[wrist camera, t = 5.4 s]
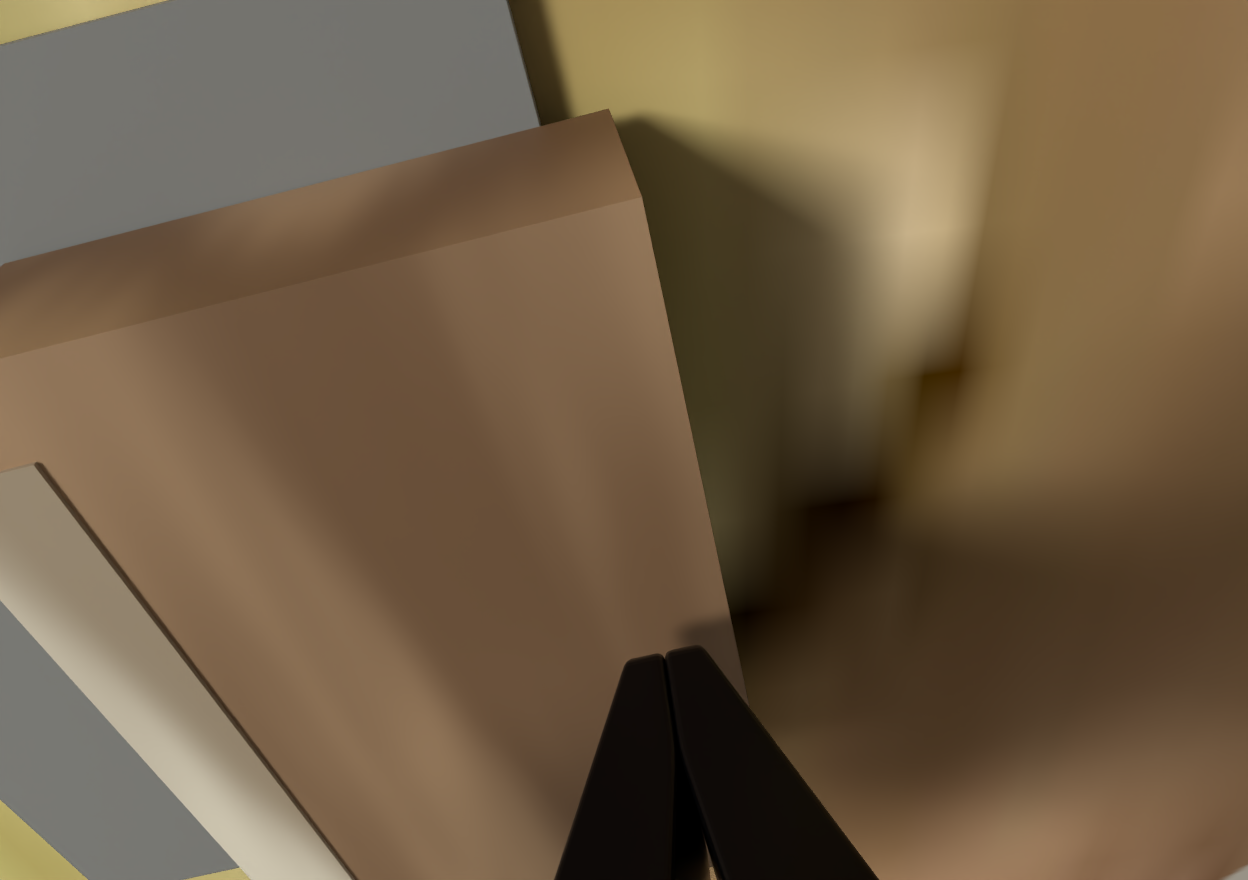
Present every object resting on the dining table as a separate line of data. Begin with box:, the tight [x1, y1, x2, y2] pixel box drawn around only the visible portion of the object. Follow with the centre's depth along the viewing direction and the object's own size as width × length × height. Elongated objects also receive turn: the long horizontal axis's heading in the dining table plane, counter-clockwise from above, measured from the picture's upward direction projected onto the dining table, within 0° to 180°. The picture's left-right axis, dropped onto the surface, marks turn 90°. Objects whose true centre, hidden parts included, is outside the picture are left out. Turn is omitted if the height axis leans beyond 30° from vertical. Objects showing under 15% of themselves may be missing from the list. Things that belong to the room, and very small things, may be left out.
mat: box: [0, 0, 541, 880], centre depth 13 cm, size 12×14×1 cm
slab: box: [0, 109, 750, 880], centre depth 11 cm, size 3×10×7 cm
